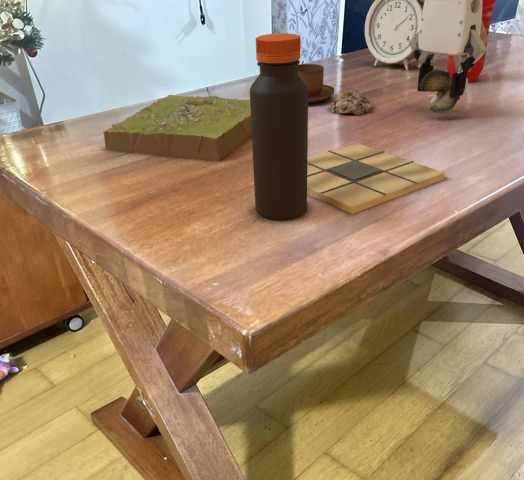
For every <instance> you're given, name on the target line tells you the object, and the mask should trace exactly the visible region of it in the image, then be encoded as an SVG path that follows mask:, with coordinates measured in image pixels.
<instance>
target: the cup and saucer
mask: <svg viewBox="0 0 524 480" xmlns="http://www.w3.org/2000/svg"><path fill="white" fill-rule="evenodd" d="M324 69H325V68H324V65H321V64H317V63H316V64H315V63H300V64H298V65H297V72H298V74H299V75H300V76H301V77H302V78H303V79H304V81H305V82H306V83H307V84H308V104H313V103H318V102H322V101H325V100H328V99H329V98H331V97H332V96H333V95H334V93H335V87H333V86H332V85H328V84H324V74H325V73H324V72H325V71H324Z"/></svg>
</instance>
